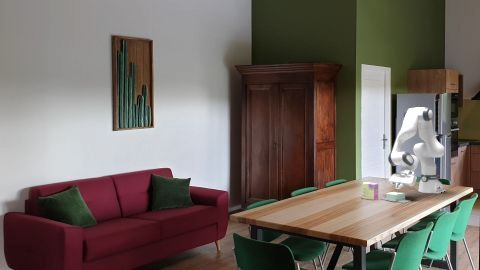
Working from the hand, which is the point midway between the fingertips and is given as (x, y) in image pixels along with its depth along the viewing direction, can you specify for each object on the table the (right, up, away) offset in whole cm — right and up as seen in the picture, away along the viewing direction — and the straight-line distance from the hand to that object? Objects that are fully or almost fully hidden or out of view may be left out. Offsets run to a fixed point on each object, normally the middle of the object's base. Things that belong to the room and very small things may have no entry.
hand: (397, 188), depth 380 cm
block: (+3, -5, +3) cm, 7 cm away
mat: (-2, -8, -1) cm, 9 cm away
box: (-18, -8, +7) cm, 21 cm away
